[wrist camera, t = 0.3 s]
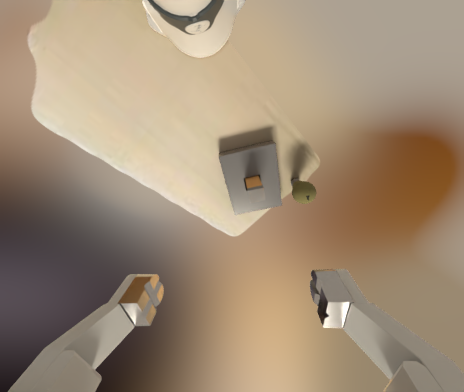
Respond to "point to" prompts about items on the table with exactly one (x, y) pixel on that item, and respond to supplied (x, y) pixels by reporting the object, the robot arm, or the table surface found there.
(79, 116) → the table surface
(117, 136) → the table surface
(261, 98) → the table surface
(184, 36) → the robot arm
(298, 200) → the light bulb
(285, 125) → the table surface
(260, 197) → the plug
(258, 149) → the grey block with hole
